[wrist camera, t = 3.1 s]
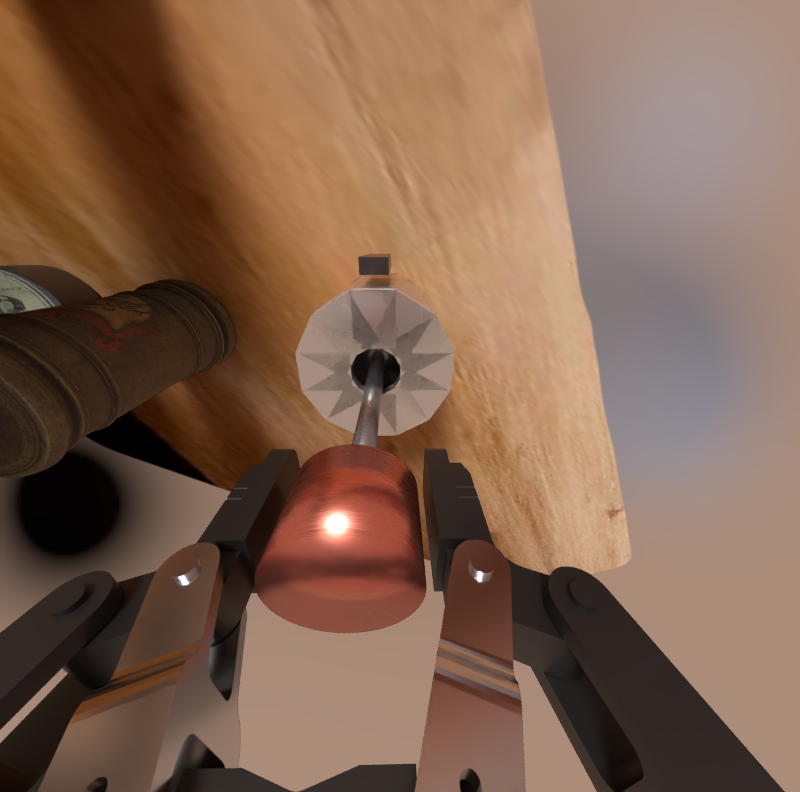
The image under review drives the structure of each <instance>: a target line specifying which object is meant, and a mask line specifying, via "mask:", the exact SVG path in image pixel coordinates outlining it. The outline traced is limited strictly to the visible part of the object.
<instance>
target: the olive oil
mask: <svg viewBox="0 0 800 792" xmlns="http://www.w3.org/2000/svg"><path fill="white" fill-rule="evenodd" d="M98 298H101V297H100V296H99V295H98V294H97V293H96V292H95V291H94V290H93V289H92V288H91V287H89V286H88V285H87V284H86V283H84V282H83V281H81V280H80V279H78V278H77V277H75V276H73V275H72V274H70V273H68V272H65V271H63V270H60V269H57V268H54V267H49V266H42V265H13V266H0V314H3V313H19V312H25V311H31V310H36V309H42V308H48V307H53V306H59V305H65V304H71V303H76V302H82V301H87V300H93V299H98Z"/></svg>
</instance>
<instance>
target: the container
mask: <svg viewBox="0 0 800 792" xmlns="http://www.w3.org/2000/svg"><path fill="white" fill-rule="evenodd" d="M234 345H235V331H234V327H233V324H232V321H231V319H230V317H229V315H228V313H227V312H226V310H225V309H224V308H223V306H222V305H221V304H220V303H219V302H218V301H217V300H216V299H215V298H214V297H213V296H212V295H211V294H209V293H208V292H207V291H205V290H204V289H202V288H200V287H198V286H196V285H194V284H191V283H188V282H184V281H180V280H160V281H157V282H154V283H149V284H145V285H142V286H140V287H138V288H137V289H136V290H134V291H125V292H120V293H117V294H114V295H112V296H109V297H104V298H98V299H93V300H87V301H82V302H76V303H71V304H65V305H59V306H53V307H48V308H42V309H36V310H31V311H25V312H19V313H3V314H0V478H17V477H22V476H27V475H31V474H34V473H37V472H39V471H42V470H45V469H47V468H49V467H51V466H52V465H54V464H55V463H57V462H58V461H59V460H60V459H61V458H62V457H63V456H64V454H65V453H66V451H67V450H69V449H71V448H73V447H74V446H75V445H76V444H77V443H78V442H79V441H80V440H81V439H82V438H83V437H84V436H85V435H87V434H89V433H91V432H93V431H97V430H100V429H103V428H105V427H107V426H109V425H110V424H112V423H113V422H114V421H115V420H116V419H117V418H118V417H120V416H122V415H124V414H125V413H127V412H128V411H130V410H132V409H133V408H135V407H137V406H139V405H140V404H142V403H144V402H145V401H147V400H148V399H150V398H152V397H153V396H155V395H157V394H158V393H160V392H161V391H163V390H165V389H167V388H168V387H170V386H172V385H174V384H175V383H177V382H179V381H183V380H185V379H188V378H190V377H192V376H193V375H194V374H196V373H197V372H202V371H206V370H208V369H210V368H212V367H214V366H216V365H218V364H220V363H222V362H223V361H225V360H226V359H227V358H228V357H229V355H230V354H231V352H232V350H233V348H234Z"/></svg>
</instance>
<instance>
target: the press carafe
mask: <svg viewBox="0 0 800 792" xmlns="http://www.w3.org/2000/svg"><path fill="white" fill-rule="evenodd" d="M390 269H391V254H369V255H364V256H360V257H359V274H360V275H364V276H362V277H360V278H358V279H357V280H355V281H354V282H352V283H351V284H350V285H348V286H347V287H345V288H344V289H343V290H341V291H340V292H339V293H337V294H336V295H335V296H334V297H332V298H331V299H330V300H329V301H327V302H326V303H325V304H323V305H322V306H321V307H320V308H318V309H317V310H316V311H315V312H314V313H313V314H312V315H311V317H310V319H309V322H308V324H307V326H306V329H305V331H304V333H303V336H302V338H301V340H300V343H299V345H298V347H297V350H296V352H295V355H296V361H297V367H298V372H299V378H300V384H301V389H302V392H303V393H304V394H305V396H306V397H307V398H308V399H309V400H310V402H311V403H312V404H313V405H314V407H315V408H316V409H317V410H318V411H319V413H320V414H321V415H322V416H323V417H324V419H325V420H327V421H328V422H331V423H333V424H335V425H337V426H339V427H342V428H344V429H346V430H348V431H351V432H353V433H355V429H356V425H357V420H358V415H359V411H360V406H361V402H362V397H363V393H364V388H365V386H364V385H362V384H360V383H359V381H358V380H357V378H356V377H355V376H354V374H353V361H354V359H355V357H356V356H357V355H358V354H360V353H362V352H363V351H365V350H367V349H383V350H385V351H387V352H389V353H390V354H392V355H394V357H395V358H396V360H397V361H398V363H399V365H400V375H399V377H398V378H397V380H396V381H395V383H394V384H392V385H390V386H389V387H387V388H385V389H382V395H381V406H380V416H379V427H378V436H396V434H397V435H399V434H401V433H403V432H405V431H407V430H409V429H411V428H413V427H416V426H418V425H420V424H422V423H424V422H426V421H428V420H429V419H430V418H431V417H432V415H433V414H434V413H435V411H436V410H437V409H438V407H439V406H440V405H441V403H442V402H443V401H444V399H445V398H446V397H447V395H448V394H449V392H450V390H451V383H452V373H453V363H454V351H453V347H452V346H451V344H450V342H449V340H448V338H447V336H446V334H445V332H444V330H443V328H442V326H441V324H440V322H439V320H438V318H437V316H436V314H435V312H434V310H433V309H432V307H431V305H430V304H429V302H428V300H427V299H426V297H425V296H424V294H423V292H422V291H421V289H420V288H419V287H418V286H416V285H415V284H413V283H412V282H410V281H409V280H408V279H406V278H404V277H402V276H400V275H399V274H397V273H390Z"/></svg>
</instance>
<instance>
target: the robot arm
mask: <svg viewBox="0 0 800 792" xmlns="http://www.w3.org/2000/svg"><path fill="white" fill-rule="evenodd" d="M299 470H300V467H299V462H298V457H297V453H296V451H295V450H294V449H273V450H271V451H270V453H269V454H268V456H267V457H266V459H265V461H264V462H263V464H255V465H254V466H253V467H252V468H250V469H249V470H248V471H247V472H245V473H244V474H243V475H242V477H241V478H240V479H239V481H238V482H237V484H236V485H235V488H234V490H232V491H231V493H230V494H229V496H228V497H227V498H228V499H227V500H226V501H225V502H224V503H223V505H222V506H221V508H220V509H219V511H218V512H217V514H216V515H215V517H214V518H213V520H212V521H211V523H210V524H209V525H208V527H207V528H206V530H205V532H204V533H203V534H202V536H201V537H200V539H199V540H198V542H197V543H196V544H193V545H190V546H187V547H185V548H183V549H181V550H179V551H178V552H176V553H175V554H173V555H172V556H171V557H169V558H168V559H167V560H166V561H165V562H164V563H163V564H162V565H161V566H160V567H159V569H158V570H157V571H155V572H151V573H149V574H145V575H141V576H138V577H135V578H132V579H128V580H125V581H121V582H118V583H117V582H116V580H115V579H114V578H113V577H112V575H111V574H110V573H108V572H105V571H95V572H90V573H86V574H83V575H81V576H78V577H76V578H74V579H72V580H70V581H68V582H66V583H64V584H63V585H61V586H60V587H58V588H57V589H55V590H54V591H52V592H51V593H50V594H48V595H47V596H46V597H45V598H43V599H42V600H41V601H40V602H38V603H37V604H36V605H35V606H33V607H32V608H31V609H30V610H28V611H27V612H26V613H25V614H23V615H22V616H21V617H20V618H18V619H17V620H16V621H15V622H13V623H12V624H11V625H10V626H8V627H7V628H6V629H5V630H3V631H2V632H1V633H0V729H1V728H2V727H3V726H4V725H5V724H6V723H7V722H8V721H9V720H10V719H11V718H12V717H13V716H14V715H15V714H16V713H17V712H18V711H19V710H20V709H21V708H22V707H23V706H24V705H25V704H26V703H27V702H28V701H29V700H30V699H31V698H32V697H33V696H34V695H35V694H36V693H37V692H38V691H39V690H40V689H41V688H42V687H43V686H44V685H45V684H46V683H47V682H48V681H49V680H50V679H51V678H52V677H53V676H54V675H55V674H56V673H57V672H58V671H59V670H60V669H61V668H62V669H63V670H65V671H66V672H67V673H68V674H67V675H66V676H65V677H64V678H63V679H62V680H61V681H60V682H59V683H58V684H57V685H56V687H55V688H54V689H53V690H52V691H51V692H50V693H49V694H48V695H47V696H46V697H45V698H44V699H43V700H42V701H41V702H40V703H39V704H38V705H37V706H36V707H35V708H34V709H33V710H32V711H31V712H30V713H29V714H28V715H27V716H26V717H25V718H24V719H23V720H22V721H21V723H20V724H19V725H18V726H17V727H16V728H15V729H14V730H13V731H12V732H11V733H10V734H9V735H8V736H7V737H6V738H5V739H4V740H3V741H2V742H1V743H0V792H292V791H290V790H287V789H285V788H283V787H281V786H279V785H277V784H274V783H273V782H270V781H268V780H266V779H264V778H262V777H260V776H258V775H256V774H253V773H251V772H249V771H247V770H245V769H243V768H239V758H240V743H241V731H240V720H239V713H238V696H239V686H240V676H241V668H242V659H243V649H244V641H245V631H246V622H247V610H246V605H247V602H248V600H249V598H250V595H251V593H257V592H256V589H255V586H254V577H255V572H256V570H257V567H258V565H259V563H260V560H261V558H262V556H263V554H264V551H265V549H266V547H267V544H268V542H269V540H270V537H271V535H272V533H273V530H274V528H275V526H276V523H277V521H278V519H279V516H280V514H281V512H282V509H283V507H284V505H285V503H286V500H287V498H288V496H289V493H290V491H291V489H292V486H293V484H294V482H295V479H296V477H297V475H298V472H299ZM423 497H424V506H425V515H426V524H427V532H428V541H429V550H430V559H431V567H432V576H433V586H434V591H443V595H444V602H445V609H444V615H443V621H442V628H441V634H440V641H439V647H438V651H437V657H436V663H435V669H434V675H433V682H432V688H431V694H430V700H429V706H428V712H427V719H426V725H425V731H424V737H423V744H422V750H421V756H420V762H419V768H418V774H417V776H416V764H392V765H391V764H390V765H359V766H357V767H354V768H352V769H350V770H348V771H345V772H343V773H341V774H339V775H336V776H334V777H332V778H330V779H327V780H325V781H323V782H320V783H319V784H316V785H314V786H311V787H309V788H307V789H305V790H302V791H299V792H526V791H525V767H524V744H523V720H522V704H521V695H520V689H519V685H518V682H517V681H516V679H515V676H514V668H513V660H516V661H519V662H521V663H523V664H526V665H528V666H531V668H532V670H533V672H534V674H535V676H536V677H537V679H538V681H539V683H540V685H541V687H542V688H543V691H544V693H545V694H546V696H547V698H548V700H549V702H550V704H551V706H552V708H553V710H554V711H555V713H556V715H557V717H558V719H559V721H560V723H561V725H562V726H563V728H564V730H565V732H566V734H567V736H568V738H569V740H570V742H571V743H572V745H573V747H574V749H575V751H576V753H577V755H578V757H579V759H580V761H581V762H582V764H583V766H584V768H585V770H586V772H587V774H588V776H589V777H590V779H591V781H592V783H593V785H594V787H595V788H596V791H597V792H784V791H783V790H782V788H781V787H780V786H779V785H778V784H777V783H776V782H775V780H774V779H773V778H772V777H771V776H770V775H769V774H768V772H767V771H766V770H765V769H764V768H763V767H762V765H761V764H760V763H759V762H758V761H757V760H756V759H755V758H754V756H753V755H752V754H751V753H750V752H749V751H748V750H747V748H746V747H745V746H744V745H743V744H742V743H741V742H740V740H739V739H738V738H737V737H736V736H735V735H734V733H733V732H732V731H731V730H730V729H729V728H728V727H727V725H726V724H725V723H724V722H723V721H722V720H721V719H720V718H719V716H718V715H717V714H716V713H715V712H714V711H713V709H712V708H711V707H710V706H709V705H708V704H707V703H706V701H705V700H704V699H703V698H702V697H701V696H700V695H699V693H698V692H697V691H696V690H695V689H694V688H693V687H692V686H691V684H690V683H689V682H688V681H687V680H686V679H685V677H684V676H683V675H682V674H681V673H680V672H679V671H678V669H677V668H676V667H675V666H674V665H673V664H672V663H671V662H670V660H669V659H668V658H667V657H666V656H665V655H664V653H663V652H662V651H661V650H660V649H659V648H658V647H657V645H656V644H655V643H654V642H653V641H652V640H651V638H650V637H649V636H648V635H647V634H646V633H645V632H644V630H642V628H641V627H640V626H639V625H638V624H637V622H636V621H635V620H634V619H633V618H632V617H631V616H630V614H629V613H628V612H627V611H626V610H625V609H624V608H623V607H622V605H621V604H620V603H619V602H618V601H617V600H616V599H615V597H614V596H613V595H612V594H611V593H610V592H609V591H608V589H607V588H606V587H605V586H604V585H603V584H602V583H601V582H600V581H598V580H597V579H596V578H595V577H593V576H592V575H590V574H589V573H587V572H585V571H583V570H580V569H578V568H574V567H559V568H557V569H555V570H554V571H553V572H552V573H551V574H550V576H549V575H546V574H543V573H540V572H536V571H533V570H530V569H527V568H524V567H521V566H518V565H516V564H514V563H513V562H511V561H510V560H508V559H507V558H506V557H505V556H504V555H503V553H502V552H501V551H500V550H499V549H498V548H496V546H495V544H494V543H493V540H492V538H491V535H490V532H489V529H488V526H487V523H486V520H485V517H484V514H483V511H482V508H481V505H480V502H479V499H478V497H477V493H476V490H475V488H474V484H473V481H472V477H471V474H470V473H469V471H468V470H467V469H466V468H465V467H464V466H463V465H462V464H461V463H449V459H448V455H447V451H446V449H425V453H424V471H423Z"/></svg>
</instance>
